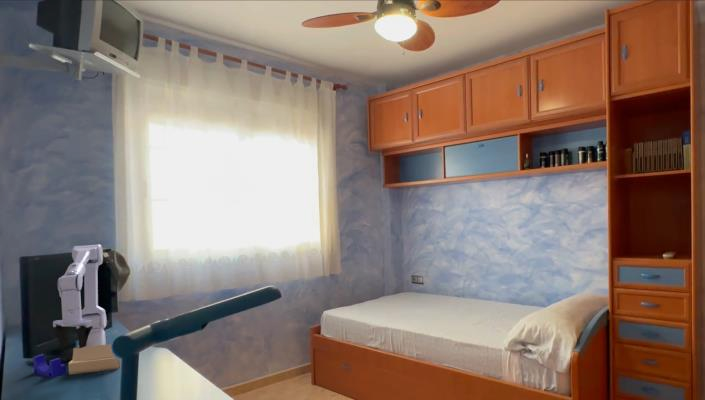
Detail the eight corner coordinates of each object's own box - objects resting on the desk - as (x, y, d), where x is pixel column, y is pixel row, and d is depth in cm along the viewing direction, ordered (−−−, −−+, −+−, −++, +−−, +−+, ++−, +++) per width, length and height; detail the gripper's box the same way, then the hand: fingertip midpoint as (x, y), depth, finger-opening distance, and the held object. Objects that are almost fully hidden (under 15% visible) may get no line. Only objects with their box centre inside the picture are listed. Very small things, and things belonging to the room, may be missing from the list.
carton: (84, 360, 167) (83, 350, 167) (130, 354, 171) (130, 344, 171) (68, 374, 153) (67, 363, 153) (119, 368, 157) (119, 357, 157)
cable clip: (66, 373, 155) (65, 356, 155) (52, 378, 151) (51, 361, 151) (47, 368, 161) (46, 352, 161) (34, 373, 157) (33, 357, 157)
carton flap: (74, 348, 155) (73, 348, 155) (115, 343, 158) (115, 343, 158) (72, 361, 154) (72, 361, 153) (114, 356, 157) (114, 356, 156)
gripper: (44, 311, 150) (46, 350, 150) (79, 311, 147) (82, 351, 147) (61, 306, 157) (64, 343, 157) (95, 306, 154) (98, 344, 154)
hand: (73, 346), depth 153 cm, fingers open, 7 cm apart
